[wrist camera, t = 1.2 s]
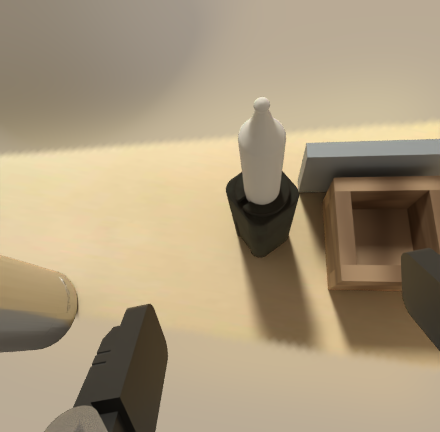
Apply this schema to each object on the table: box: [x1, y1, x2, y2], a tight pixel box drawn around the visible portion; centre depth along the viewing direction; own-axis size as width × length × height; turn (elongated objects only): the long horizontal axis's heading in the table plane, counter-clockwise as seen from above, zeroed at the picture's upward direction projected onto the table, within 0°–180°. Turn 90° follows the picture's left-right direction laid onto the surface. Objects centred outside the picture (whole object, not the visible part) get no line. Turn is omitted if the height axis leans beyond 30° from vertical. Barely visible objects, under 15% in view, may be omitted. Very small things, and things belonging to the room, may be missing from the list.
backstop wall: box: [298, 139, 440, 192], centre depth 37 cm, size 16×2×9 cm, turn 88°
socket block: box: [322, 176, 440, 291], centre depth 36 cm, size 10×10×7 cm
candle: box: [226, 97, 299, 257], centre depth 30 cm, size 5×5×25 cm
